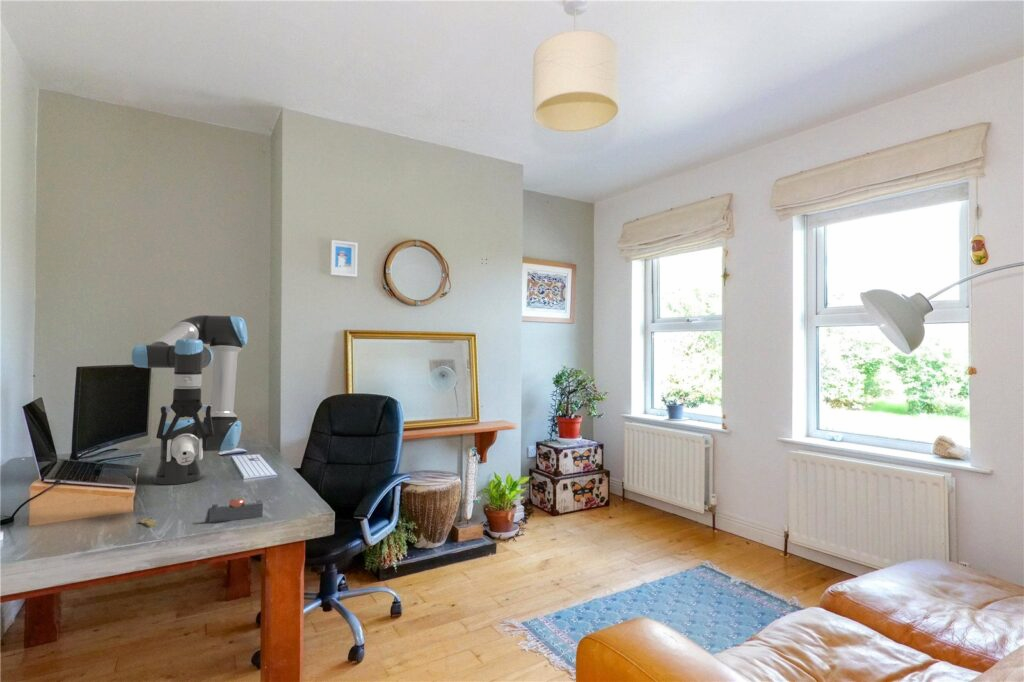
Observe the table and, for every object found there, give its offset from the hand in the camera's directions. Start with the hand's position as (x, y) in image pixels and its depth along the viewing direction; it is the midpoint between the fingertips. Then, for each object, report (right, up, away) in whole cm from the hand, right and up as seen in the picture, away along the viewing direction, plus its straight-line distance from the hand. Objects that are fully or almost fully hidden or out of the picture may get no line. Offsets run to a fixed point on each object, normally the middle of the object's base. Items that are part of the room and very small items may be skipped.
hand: (184, 459), depth 163 cm
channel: (+18, -16, -3) cm, 24 cm away
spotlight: (+1, -1, -1) cm, 1 cm away
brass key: (-1, -15, -15) cm, 21 cm away
